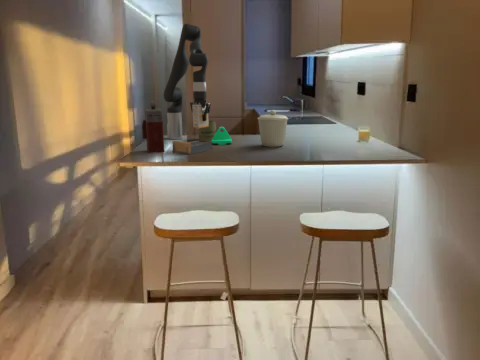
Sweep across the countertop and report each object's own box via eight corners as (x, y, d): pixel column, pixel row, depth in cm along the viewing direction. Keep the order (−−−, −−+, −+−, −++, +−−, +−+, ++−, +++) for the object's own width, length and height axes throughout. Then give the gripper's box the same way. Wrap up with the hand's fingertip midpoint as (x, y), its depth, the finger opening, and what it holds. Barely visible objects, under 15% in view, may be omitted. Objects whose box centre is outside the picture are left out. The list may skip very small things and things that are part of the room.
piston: (200, 122, 286) (196, 121, 296) (201, 141, 289) (196, 139, 299) (217, 122, 289) (213, 120, 300) (218, 140, 292) (213, 138, 303)
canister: (251, 146, 271) (251, 110, 266) (270, 142, 284) (270, 108, 279) (275, 149, 259) (275, 112, 254) (294, 145, 272) (294, 109, 267)
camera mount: (212, 145, 277) (211, 128, 274) (212, 143, 284) (211, 126, 282) (232, 144, 278) (231, 127, 275) (231, 142, 285) (231, 126, 282)
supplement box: (202, 126, 265) (202, 103, 262) (208, 127, 262) (208, 103, 259) (192, 127, 259) (191, 104, 256) (198, 128, 256) (198, 104, 253)
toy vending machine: (143, 150, 261) (139, 100, 254) (162, 149, 263) (160, 100, 257) (143, 153, 252) (140, 101, 245) (164, 152, 255) (161, 101, 248)
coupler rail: (172, 152, 254) (172, 141, 253) (197, 147, 269) (196, 137, 268) (188, 154, 247) (188, 143, 245) (212, 149, 262) (212, 138, 261)
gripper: (185, 90, 257) (186, 120, 261) (204, 90, 249) (205, 122, 253) (194, 89, 263) (195, 119, 267) (213, 90, 254) (214, 120, 259)
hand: (200, 120), depth 260 cm, fingers closed on supplement box, 5 cm apart
